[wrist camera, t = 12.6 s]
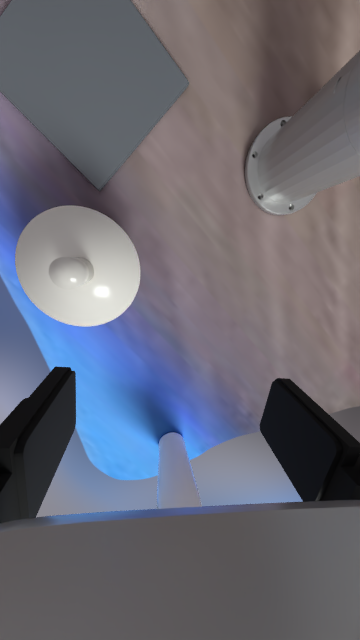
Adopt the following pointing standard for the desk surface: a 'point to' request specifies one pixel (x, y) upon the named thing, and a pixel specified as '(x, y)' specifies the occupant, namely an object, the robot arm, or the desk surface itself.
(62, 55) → the mat
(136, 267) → the lid
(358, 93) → the robot arm
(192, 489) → the drinking glass
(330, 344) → the desk surface
